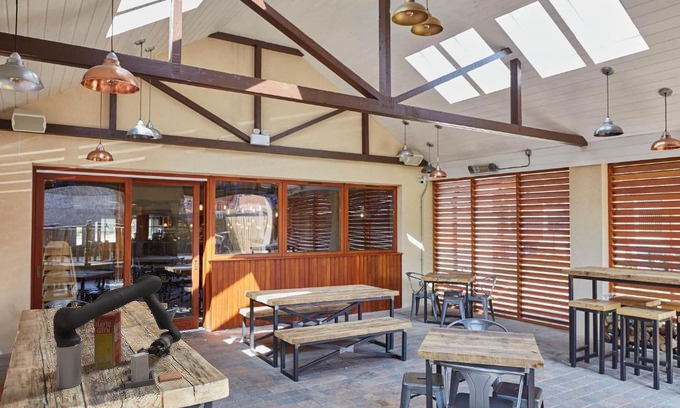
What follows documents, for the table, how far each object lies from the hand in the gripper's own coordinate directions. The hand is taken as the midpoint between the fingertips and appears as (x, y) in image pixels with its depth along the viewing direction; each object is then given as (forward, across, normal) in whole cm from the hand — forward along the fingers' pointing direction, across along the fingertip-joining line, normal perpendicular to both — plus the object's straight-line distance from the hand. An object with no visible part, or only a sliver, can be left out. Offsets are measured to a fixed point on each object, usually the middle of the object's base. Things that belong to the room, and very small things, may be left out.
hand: (149, 356), depth 217 cm
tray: (+11, 0, +8) cm, 14 cm away
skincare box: (+11, 0, +8) cm, 14 cm away
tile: (+7, +12, +8) cm, 16 cm away
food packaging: (-17, -25, +8) cm, 31 cm away
